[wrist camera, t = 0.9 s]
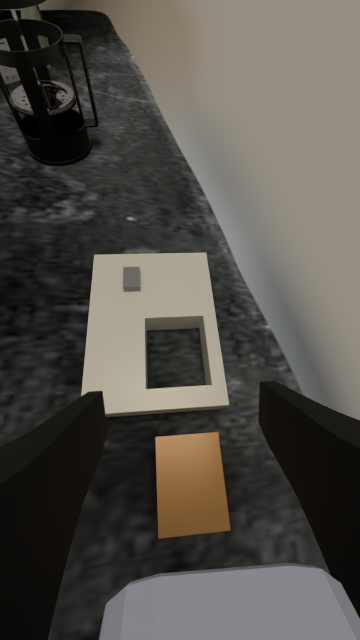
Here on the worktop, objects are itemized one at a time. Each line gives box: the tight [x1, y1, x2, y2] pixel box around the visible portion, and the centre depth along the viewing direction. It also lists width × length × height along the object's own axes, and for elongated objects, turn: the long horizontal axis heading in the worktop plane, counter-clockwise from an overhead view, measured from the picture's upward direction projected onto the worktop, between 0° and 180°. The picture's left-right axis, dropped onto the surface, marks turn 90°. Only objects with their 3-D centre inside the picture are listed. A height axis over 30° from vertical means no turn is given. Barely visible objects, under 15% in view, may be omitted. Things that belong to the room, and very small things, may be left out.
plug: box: [155, 432, 230, 539], centre depth 18 cm, size 5×4×7 cm
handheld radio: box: [21, 5, 51, 69], centre depth 49 cm, size 7×3×25 cm
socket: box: [81, 253, 229, 417], centre depth 24 cm, size 16×12×4 cm
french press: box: [0, 0, 98, 166], centre depth 28 cm, size 12×9×23 cm
